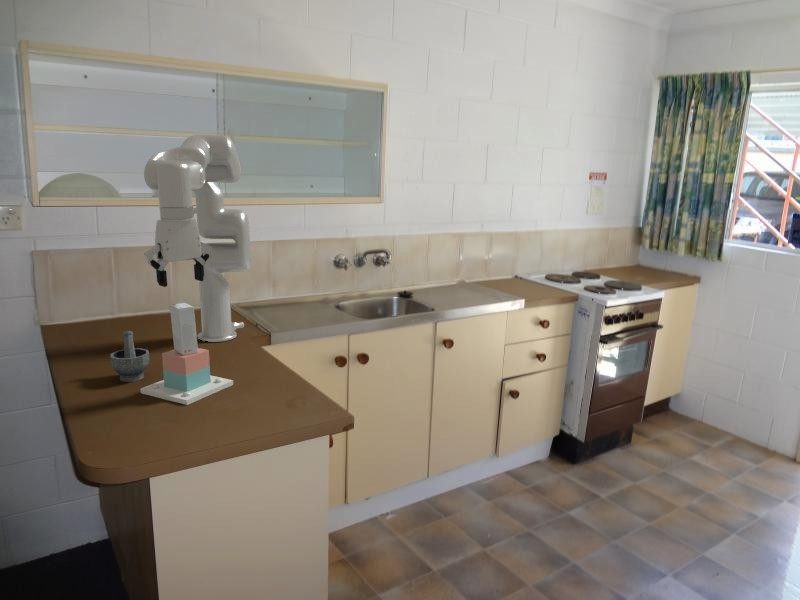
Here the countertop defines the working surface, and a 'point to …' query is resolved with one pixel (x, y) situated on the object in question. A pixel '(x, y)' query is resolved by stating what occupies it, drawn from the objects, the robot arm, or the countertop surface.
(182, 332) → the skincare box
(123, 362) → the mortar and pestle
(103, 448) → the countertop surface
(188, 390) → the block on square base
